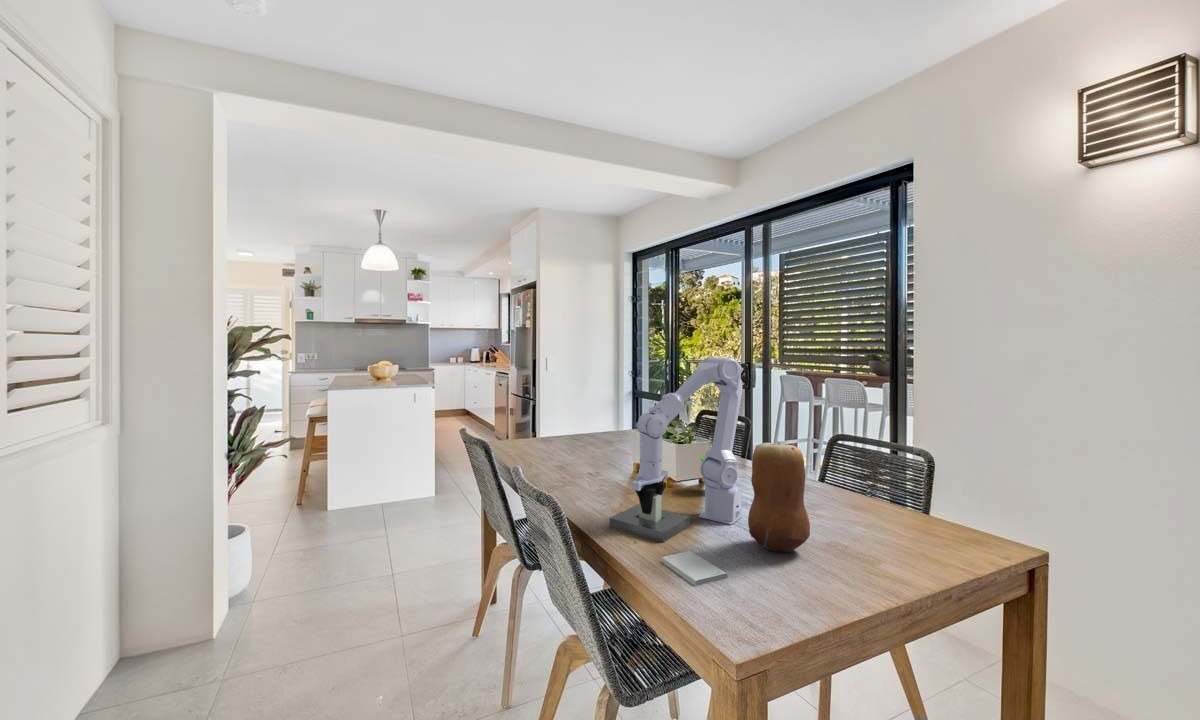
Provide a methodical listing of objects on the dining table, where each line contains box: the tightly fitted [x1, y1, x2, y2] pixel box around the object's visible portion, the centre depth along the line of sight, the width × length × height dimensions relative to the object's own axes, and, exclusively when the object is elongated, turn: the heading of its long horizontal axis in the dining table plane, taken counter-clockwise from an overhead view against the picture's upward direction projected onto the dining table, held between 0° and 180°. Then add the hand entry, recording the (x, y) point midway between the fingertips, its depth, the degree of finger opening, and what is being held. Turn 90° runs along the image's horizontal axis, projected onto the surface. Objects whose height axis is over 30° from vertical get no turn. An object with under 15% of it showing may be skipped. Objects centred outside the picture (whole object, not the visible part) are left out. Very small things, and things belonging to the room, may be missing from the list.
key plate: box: [608, 503, 691, 544], centre depth 133 cm, size 16×14×2 cm
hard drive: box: [660, 550, 729, 587], centre depth 109 cm, size 2×8×12 cm
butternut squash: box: [747, 442, 811, 554], centre depth 119 cm, size 14×13×25 cm
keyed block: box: [638, 494, 663, 522], centre depth 133 cm, size 3×5×8 cm, turn 54°
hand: (650, 511), depth 133 cm, fingers closed on keyed block, 3 cm apart
